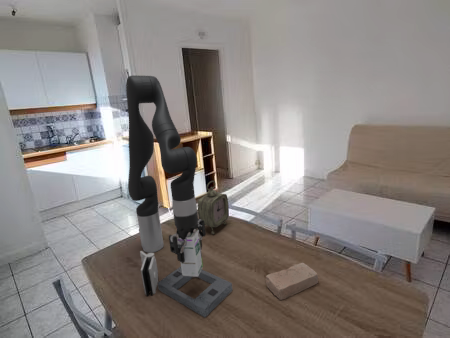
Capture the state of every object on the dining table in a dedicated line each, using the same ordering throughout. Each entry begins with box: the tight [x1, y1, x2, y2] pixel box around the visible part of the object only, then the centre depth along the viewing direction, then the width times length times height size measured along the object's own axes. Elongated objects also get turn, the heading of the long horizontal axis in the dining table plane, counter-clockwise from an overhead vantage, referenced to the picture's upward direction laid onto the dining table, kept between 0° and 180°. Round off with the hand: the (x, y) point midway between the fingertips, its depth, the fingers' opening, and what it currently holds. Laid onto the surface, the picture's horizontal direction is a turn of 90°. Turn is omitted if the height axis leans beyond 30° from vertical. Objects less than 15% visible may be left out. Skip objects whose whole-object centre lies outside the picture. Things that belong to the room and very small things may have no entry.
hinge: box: [139, 250, 159, 297], centre depth 98 cm, size 14×5×10 cm, turn 18°
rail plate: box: [157, 266, 233, 318], centre depth 93 cm, size 22×14×3 cm, turn 52°
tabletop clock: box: [197, 180, 230, 235], centre depth 133 cm, size 14×9×25 cm, turn 147°
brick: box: [265, 262, 319, 301], centre depth 92 cm, size 17×8×5 cm, turn 115°
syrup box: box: [177, 229, 204, 278], centre depth 90 cm, size 6×6×14 cm
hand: (190, 255), depth 90 cm, fingers closed on syrup box, 7 cm apart
